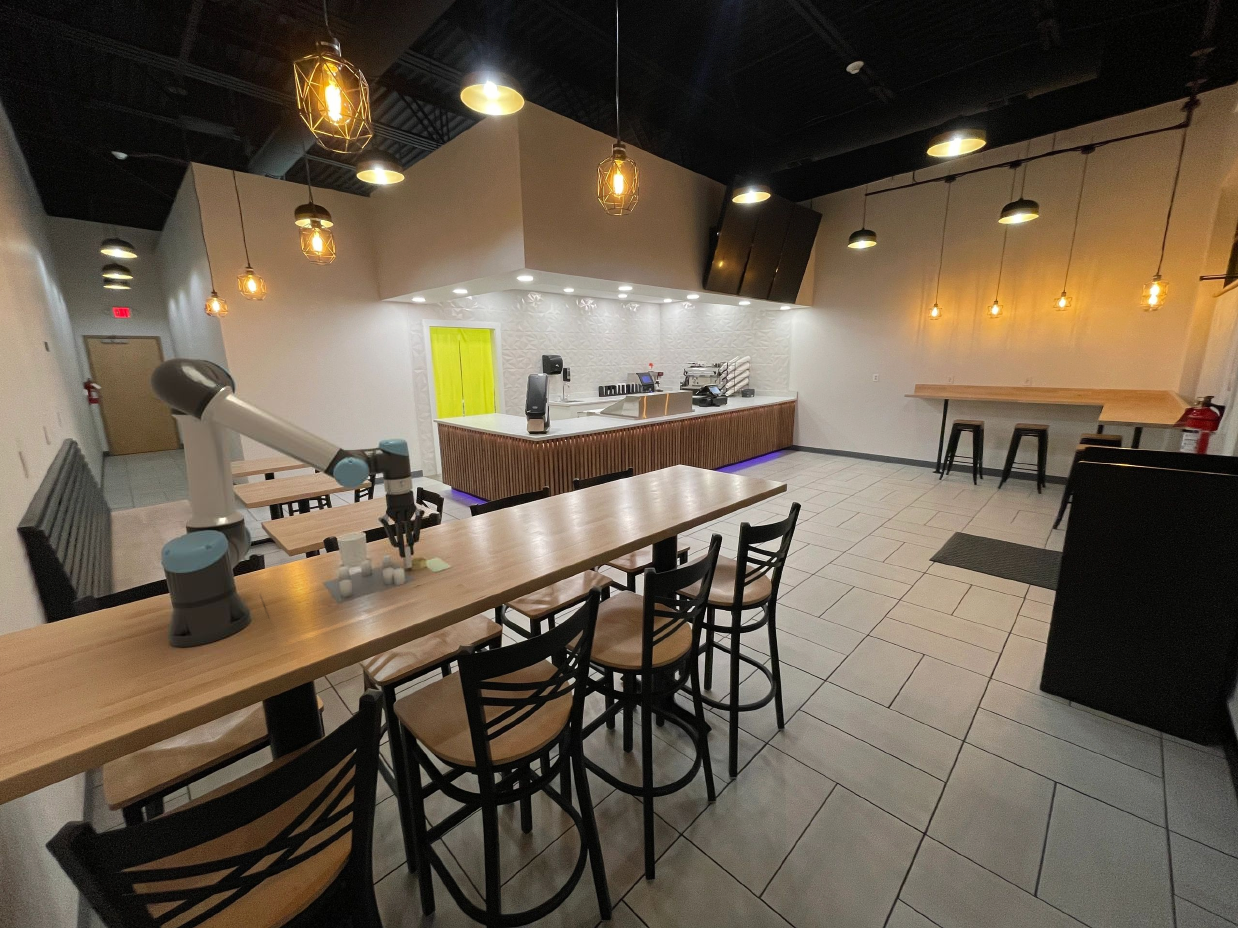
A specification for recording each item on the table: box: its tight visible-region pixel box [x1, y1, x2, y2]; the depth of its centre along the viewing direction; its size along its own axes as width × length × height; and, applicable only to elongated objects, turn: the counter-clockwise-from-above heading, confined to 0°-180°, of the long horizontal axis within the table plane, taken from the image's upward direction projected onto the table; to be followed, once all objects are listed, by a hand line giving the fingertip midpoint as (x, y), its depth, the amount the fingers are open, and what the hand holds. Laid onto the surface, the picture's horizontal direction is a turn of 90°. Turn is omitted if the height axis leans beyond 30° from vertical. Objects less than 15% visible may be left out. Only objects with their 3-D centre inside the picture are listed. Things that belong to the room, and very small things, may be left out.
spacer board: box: [322, 554, 416, 604], centre depth 136 cm, size 20×18×5 cm
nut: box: [408, 556, 428, 571], centre depth 146 cm, size 4×5×3 cm
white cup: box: [336, 531, 368, 568], centre depth 150 cm, size 8×8×10 cm
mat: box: [426, 557, 453, 574], centre depth 147 cm, size 12×11×1 cm
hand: (408, 566), depth 143 cm, fingers closed
